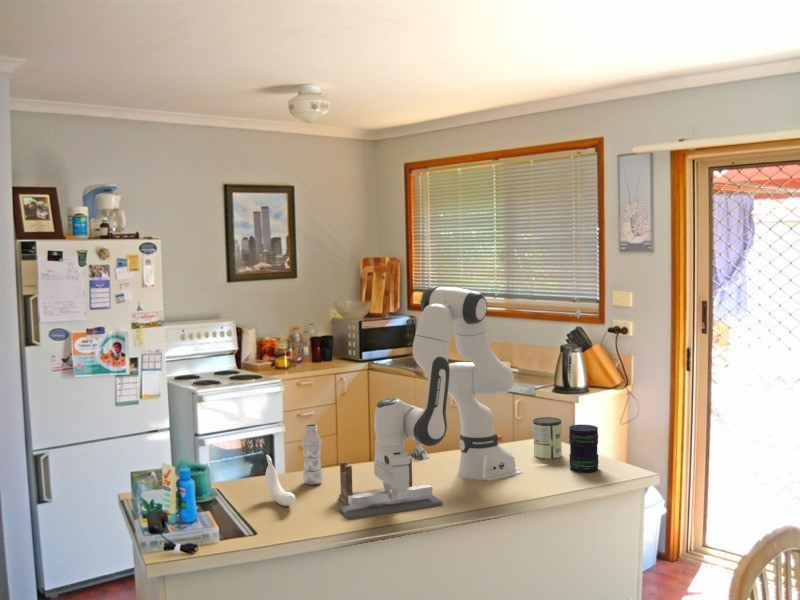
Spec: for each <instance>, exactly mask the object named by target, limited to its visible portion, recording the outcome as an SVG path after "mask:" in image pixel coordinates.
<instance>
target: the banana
mask: <svg viewBox="0 0 800 600" xmlns="http://www.w3.org/2000/svg"><path fill="white" fill-rule="evenodd" d="M265 458H266V462H267V464H268V465H267V468H266V471H265V482H266V483H265V484H266V486H267V490H268V492H269V493H270V496H271V497H272V499H273V500H274V501H275V502H276V503H277V504H279V505H281V506H284V507H288V506H291V505H293V504H294V503H295V501H296V495H295V494H294V493H293V492H290V491H286V490H285V489H284V488H283V486H282V485H281V482H280V479H279V477H278V472H277V470H276V467H274V465H273V460H272V458H271V456H270V455H269V454H266V455H265Z"/></svg>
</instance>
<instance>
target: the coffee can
mask: <svg viewBox="0 0 800 600" xmlns="http://www.w3.org/2000/svg"><path fill="white" fill-rule="evenodd" d="M532 423H533V456H534V458H537V459H540V460H541V459H542V460H549V461H550V460H557V459H561V458H562V457H563V455H562V454H563V453H562V451H563V450H562V419H560V418H558V417H554V416H553V417H549V416H543V417H535V418H533V420H532Z"/></svg>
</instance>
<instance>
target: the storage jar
mask: <svg viewBox="0 0 800 600" xmlns="http://www.w3.org/2000/svg"><path fill="white" fill-rule="evenodd" d="M568 429H569V434H568V439H569V441H568V442H569V449H570V450H569V455H568V456H569V459H568V460H569V470H570V471H571V472H574V473H580V474H592V473H596V472H598V471H599V454H598V444H599V427H598V426H596V425H592V424H573V425H570V426H569V428H568Z"/></svg>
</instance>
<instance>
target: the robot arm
mask: <svg viewBox="0 0 800 600" xmlns="http://www.w3.org/2000/svg"><path fill="white" fill-rule="evenodd" d="M420 299H421V300H420V308H421V311H422V313H421V315H420V318H419V320H418V324H417V326H416V330H415V335H414V338H413V343H412V357H413V359H414V361H415V362H416V364H417V366H419V367H420V368H421V369H422V370H423V371H424V373H425V375H426V378H427V389H426V399H425V406H424V408H423V407H419V406H415V405H412V404H408V403H406V402H404V401H403V400H401V399H400V398H397V397H389V398H385V399H383V400H380V401H379V402H378V403H377V404H376V406H375V408H374V409H375V410H374V433H375V441H374V446H375V447H374V448H375V449H374V450H375V451H374V460H373V461H374V462H373V463H374V464H373V471H374V472H373V473H374V476H375V477H377V479H379V480H381V482H382V484H383V488H384V489H385V491H386V490H392V491H391V494H390V499H391V500H392V501H396V500H397V499H398V498H397V495H398V492H401V491H407V490H408V487H409V466H408V464H410V458H411V457H409V456H410V455H409V454H408V451H407V449H406V447H405V439H408V438H409V439H411V440H414V441H417V442H418V441H419V442H420V443H422V445H424V446H427V447H433V446H436V445H438V444H439V443H440V442H441V441H443V439H444V437H445V436H446V433H447V430H448V429H447V428H448V424H447V423H448V422H447V413H446V412H447V403H448V402H447V401H448V395H449V396H450V397H451V398H452V399H453V401H454V403H455V404H456V407H457V410H458V412H459V418H460V419H459V420H460V421H459V422H460V434H459V451H460V458H459V464H458V465H459V466H458V470H457V476H459V477H462V478H464V479H469V480H481V481H488V482H490V481H494V480H500V479H505V478H508V477H513V476H517V475H520V474H523V470H522V469H521V468H520V467H519V466H516V465H517V464H516V461H515V457H514V455H513V454H512V453H511V452H510V451H508V450H507V449H506V448H504V447H503V446H501V445H500V444H499V442H500V443H502V442H503V441H504V439H505V437H504V436H503V435H501V434H496V433H494V413H493V412H492V410H491V408H489V407H488V406H487V405H485V404H483V403H481V402H480V401H479V400H478V399H477V397H476V395H477V396H478V395H479V396H480V395H481V396H483V395H484V396H497V395H503V394H504V395H505V394H508V393H509V392H510V391H511V390H512V388H513V386H514V383H515V375H514V372H513V370H512V368H511V367H510V366H509V365H508V364H506V363H504V362H503V361H502V360H500V359H499V358H498V357H497V356H496V354H495V352H494V351H493V349H492V348H491V343H490V340H489V333H488V332H489V331H488V324H487V323H488V321H487V317H486V316H487V313H488V301H487V299H486V297H485V295H483V293H481V292H478V291H475V290H470V289H465V288H460V287H446V286H443V287H442V286H438V285H436V286H430V287H428V288H426V290H425V291H424V292H423V293H422V296H421V298H420ZM452 331H454V332H453V333H454V334H453V333H452ZM452 334H453V335H454V341H455V348H456V351H457V352H458V354H459V355H460V356H461V357H463V358H464V359H467V360H468V361H469V362H468V361H466V362H464V361H455V362H451V363H449V351H450V345H451V344H450V343H451V340H452Z"/></svg>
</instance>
